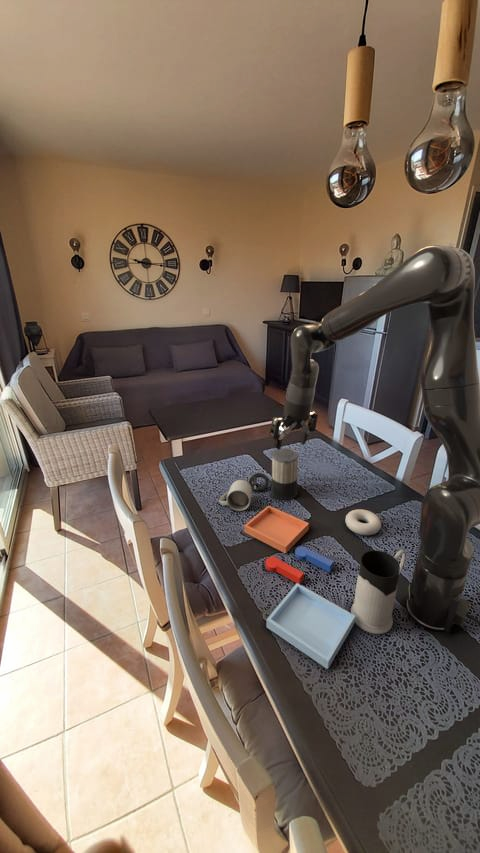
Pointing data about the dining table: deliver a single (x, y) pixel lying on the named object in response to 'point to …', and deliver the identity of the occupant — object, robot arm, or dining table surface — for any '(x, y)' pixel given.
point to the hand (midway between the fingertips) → (289, 445)
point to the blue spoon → (314, 558)
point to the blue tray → (311, 624)
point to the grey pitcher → (376, 590)
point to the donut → (363, 528)
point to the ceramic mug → (238, 496)
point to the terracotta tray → (276, 528)
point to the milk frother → (280, 474)
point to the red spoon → (284, 569)
